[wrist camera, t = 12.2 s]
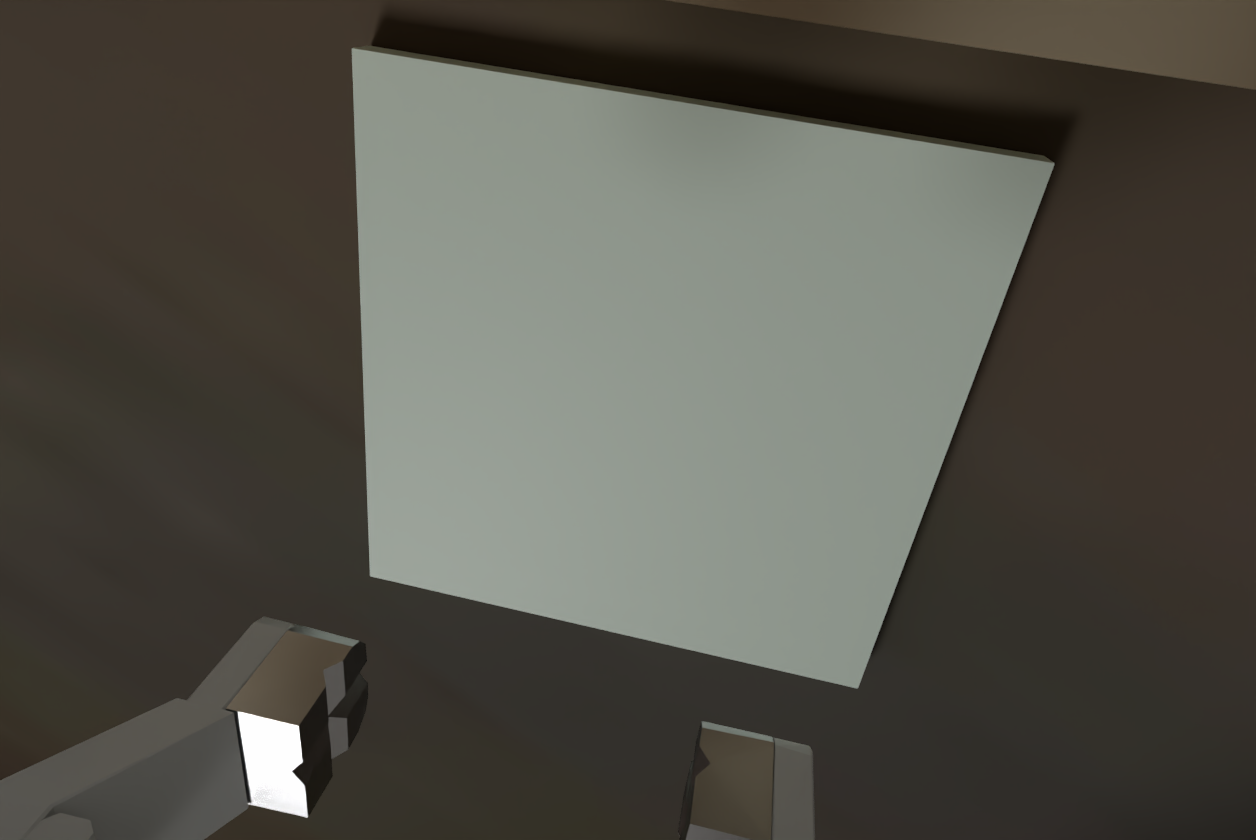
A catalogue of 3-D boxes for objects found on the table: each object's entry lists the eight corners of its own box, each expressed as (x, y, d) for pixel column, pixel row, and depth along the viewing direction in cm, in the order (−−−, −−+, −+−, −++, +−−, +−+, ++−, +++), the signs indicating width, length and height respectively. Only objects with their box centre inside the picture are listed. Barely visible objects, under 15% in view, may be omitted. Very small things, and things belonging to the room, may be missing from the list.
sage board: (1043, 155, 16) (1054, 163, 15) (855, 667, 23) (857, 688, 22) (370, 45, 17) (351, 48, 17) (382, 559, 24) (370, 576, 24)
